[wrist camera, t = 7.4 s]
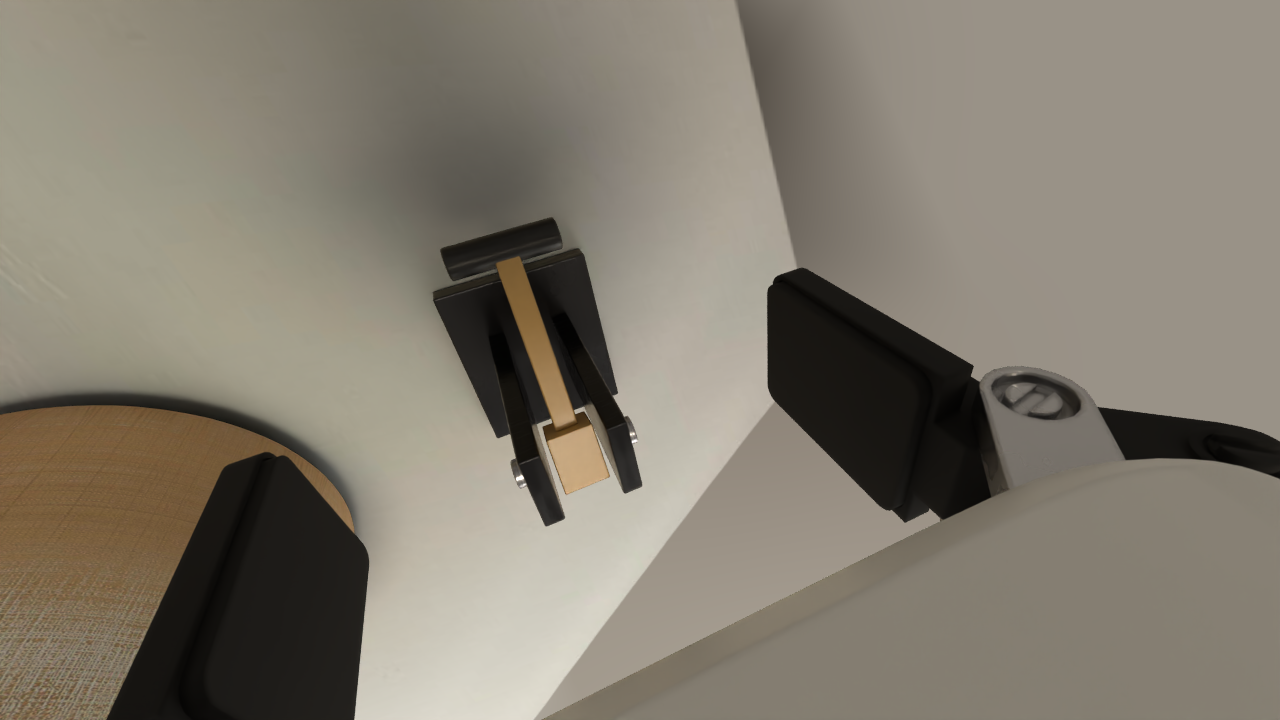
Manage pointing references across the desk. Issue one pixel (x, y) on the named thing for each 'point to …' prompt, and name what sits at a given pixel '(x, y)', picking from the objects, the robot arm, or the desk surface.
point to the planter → (100, 541)
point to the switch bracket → (511, 383)
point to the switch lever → (535, 341)
